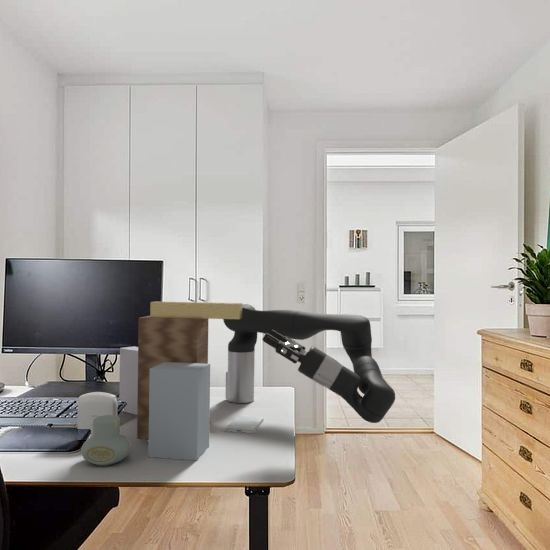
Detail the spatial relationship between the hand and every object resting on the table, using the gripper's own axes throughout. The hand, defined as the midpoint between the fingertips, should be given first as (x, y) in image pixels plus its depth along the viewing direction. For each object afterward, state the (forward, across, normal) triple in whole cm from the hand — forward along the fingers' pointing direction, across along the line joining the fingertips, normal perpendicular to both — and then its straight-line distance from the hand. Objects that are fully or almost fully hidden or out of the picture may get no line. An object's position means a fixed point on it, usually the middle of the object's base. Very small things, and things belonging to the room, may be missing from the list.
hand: (267, 334), depth 136 cm
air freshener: (+15, -21, -42) cm, 49 cm away
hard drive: (-7, +13, -29) cm, 33 cm away
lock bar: (+19, 0, -6) cm, 20 cm away
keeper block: (+3, -12, -34) cm, 36 cm away
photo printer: (+24, -7, -46) cm, 52 cm away
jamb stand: (+8, 0, -37) cm, 38 cm away
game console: (+18, +17, -43) cm, 50 cm away
